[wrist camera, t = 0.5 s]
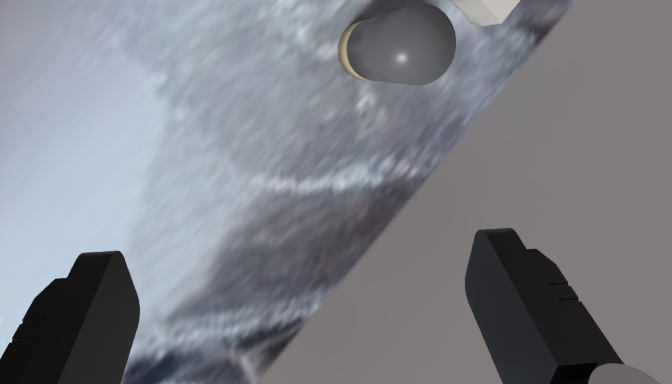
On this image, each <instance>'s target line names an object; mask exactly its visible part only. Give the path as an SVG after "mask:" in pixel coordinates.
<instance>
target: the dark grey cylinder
mask: <svg viewBox="0 0 672 384" xmlns="http://www.w3.org/2000/svg"><path fill="white" fill-rule="evenodd" d="M455 49H456V36H455V31H454V28H453V25H452V23H451V21H450V20H449V18H448V17H447V15H446V14H445V13H444V12H443V11H441V10H440V9H439V8H437V7H435V6H433V5H430V4H425V3H417V4H412V5H408V6H405V7H402V8H399V9H396V10H393V11H390V12H387V13H384V14H381V15H378V16H375V17H372V18H369V19H366V20H363V21H360V22H357V23H354V24H352V25H351V26H349V27H348V28H347V29H346V30H345V31H344V33H343V34H342V36H341V38H340V41H339V44H338V57H339V61H340V63H341V65H342V67H343V68H344V70H345V71H346V72H347V73H348V74H349V75H351V76H353V77H355V78H357V79H363V80H372V81H381V82H391V83H400V84H409V85H425V84H428V83H431V82H433V81H435V80H437V79H438V78H439V77H441V76H442V75H443V74H444V73H445V72H446V70H447V69H448V68H449V66H450V64H451V62H452V60H453V58H454V54H455Z"/></svg>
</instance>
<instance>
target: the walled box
mask: <svg viewBox="0 0 672 384" xmlns="http://www.w3.org/2000/svg"><path fill="white" fill-rule="evenodd" d="M451 1H452V2H453V3H454V4H455V6H456V7H457V8H458V9H459V10H460V11H461V12H462V13H463V14H464V15H465V16H466V18H467V19H468V20H469V21H470V22H471V23H472V24H473V25H474V26H475V27H480V26H486V25H493V24H499V23H502V22H503V21H504V20H505V18H506V17H507V16H508V15H509V14H510V12H511V11H512V10H513V9H514V7H515V6H516V5H517V4H518V3H519V1H520V0H451Z"/></svg>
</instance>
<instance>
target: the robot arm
mask: <svg viewBox="0 0 672 384" xmlns="http://www.w3.org/2000/svg"><path fill="white" fill-rule="evenodd" d="M465 290H466V295H467V299H468V302H469V305H470V307H471V310H472V312H473V314H474V317H475V319H476V321H477V324H478V326H479V328H480V331H481V333H482V336H483V338H484V340H485V343H486V345H487V347H488V350H489V352H490V354H491V357H492V359H493V362H494V364H495V366H496V369H497V371H498V373H499V376H500V378H501V380H502V383H503V384H660V383H659V382H658V381H656V380H655V379H654V378H652V377H651V376H649V375H648V374H646V373H644V372H643V371H641V370H638V369H636V368H634V367H631V366H627V365H625V364H624V363H623V362H622V361H621V359H620V358H619V356H618V355H617V354H616V352H615V351H614V349H613V348H612V346H611V345H610V343H609V342H608V340H607V339H606V337H605V336H604V334H603V333H602V332H601V330H600V329H599V327H598V326H597V324H596V323H595V321H594V320H593V318H592V317H591V315H590V314H589V312H588V311H587V309H586V308H585V307H584V305H583V304H582V302H579V300H578V296H577V295H576V293H575V292H574V290H573V289H572V287H571V286H568V281H567V280H566V279H565V277H564V276H563V274H562V273H561V271H560V270H559V268H558V267H557V265H556V264H555V263H554V262H552V261H551V260H550V259H549V258H547V257H546V256H545V255H544V254H542V253H541V252H540V251H538V250H537V249H526V247H525V246H524V244H523V243H522V241H521V239H520V238H519V236H518V235H517V233H516V232H515V231H514V230H513V229H512V228H502V229H487V230H486V229H485V230H478V231H477V232H476V234H475V238H474V242H473V246H472V250H471V255H470V259H469V263H468V267H467V272H466V276H465ZM139 317H140V305H139V299H138V295H137V292H136V290H135V287H134V284H133V281H132V278H131V276H130V273H129V270H128V267H127V264H126V262H125V259H124V256H123V254H122V253H121V252H120V251H106V252H89V253H82V254H80V255H79V256H78V258H77V259H76V261H75V263H74V265H73V267H72V269H71V271H70V273H69V275H68V277H67V278H59V279H55V280H53V281H52V282H51V283H50V284H49V285H48V286H47V287H46V288H45V289H44V290H43V291H42V292H41V293H40V294H38V295H37V296H36V297H35V298H34V300H33V302H32V304H31V305H30V307H29V309H28V311H27V313H26V314H25V316H24V318H23V323H22V324H20V325H19V327H18V329H17V330H16V332H15V334H14V336H13V337H12V339H13V340H12V343H9V345H8V346H7V348H6V350H5V352H4V354H3V355H2V357H1V359H0V384H120V383H121V380H122V376H123V373H124V370H125V367H126V363H127V360H128V357H129V354H130V350H131V347H132V344H133V340H134V337H135V334H136V331H137V327H138V324H139Z"/></svg>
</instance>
